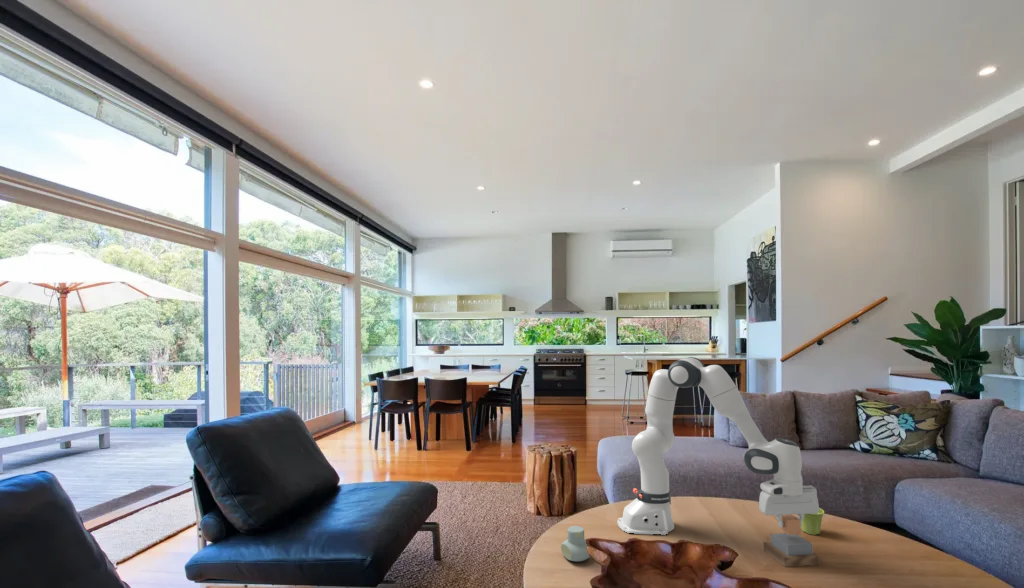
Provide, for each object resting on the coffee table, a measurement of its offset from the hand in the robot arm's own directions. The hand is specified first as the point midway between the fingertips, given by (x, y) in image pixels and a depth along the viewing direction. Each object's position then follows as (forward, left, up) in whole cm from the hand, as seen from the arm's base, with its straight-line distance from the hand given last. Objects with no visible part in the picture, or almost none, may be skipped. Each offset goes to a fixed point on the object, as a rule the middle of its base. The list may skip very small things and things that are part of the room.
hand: (789, 526), depth 172 cm
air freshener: (-75, +7, -11) cm, 76 cm away
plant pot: (+21, +19, -11) cm, 30 cm away
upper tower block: (0, 0, -8) cm, 8 cm away
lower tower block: (0, 0, -11) cm, 11 cm away
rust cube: (0, 0, -2) cm, 2 cm away
